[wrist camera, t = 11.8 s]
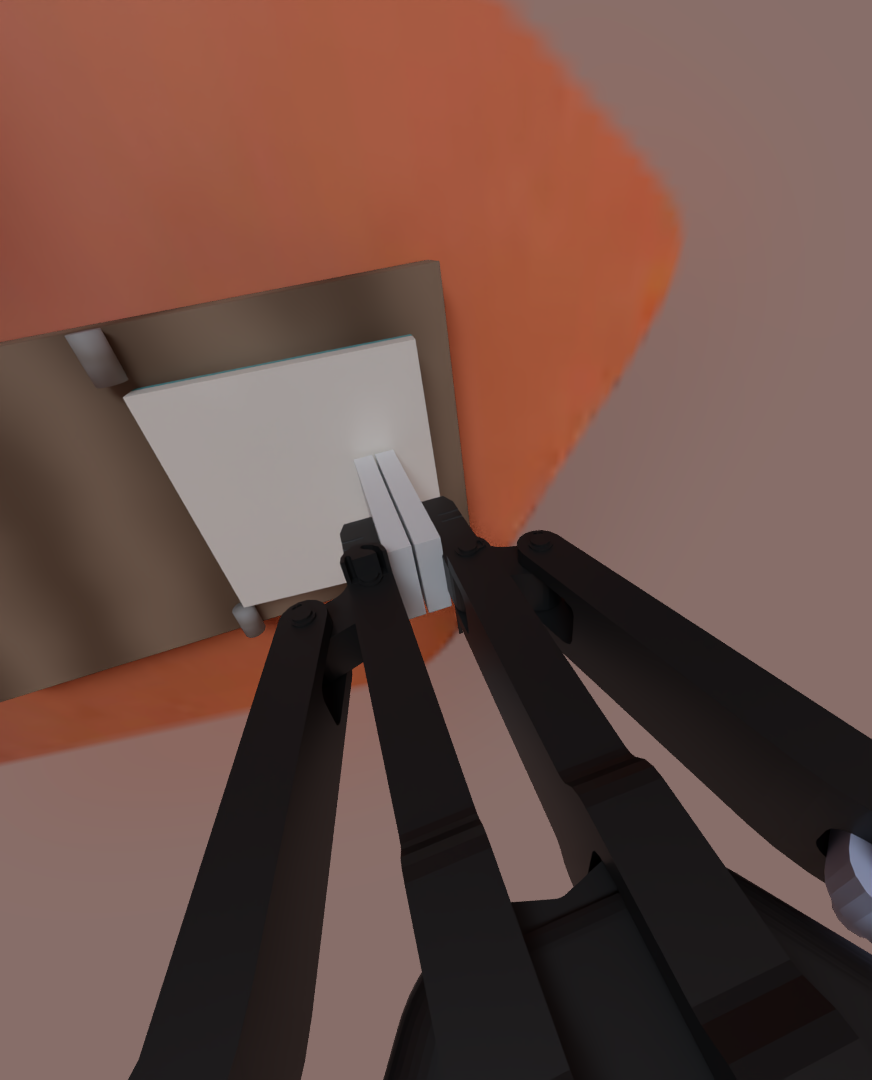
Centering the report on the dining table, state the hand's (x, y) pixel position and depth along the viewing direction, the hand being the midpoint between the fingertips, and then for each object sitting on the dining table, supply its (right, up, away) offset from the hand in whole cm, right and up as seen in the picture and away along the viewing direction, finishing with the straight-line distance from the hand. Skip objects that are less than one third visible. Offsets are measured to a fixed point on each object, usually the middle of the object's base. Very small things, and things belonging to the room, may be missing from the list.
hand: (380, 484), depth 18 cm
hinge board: (-8, 0, +1) cm, 9 cm away
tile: (-3, 0, 0) cm, 3 cm away
